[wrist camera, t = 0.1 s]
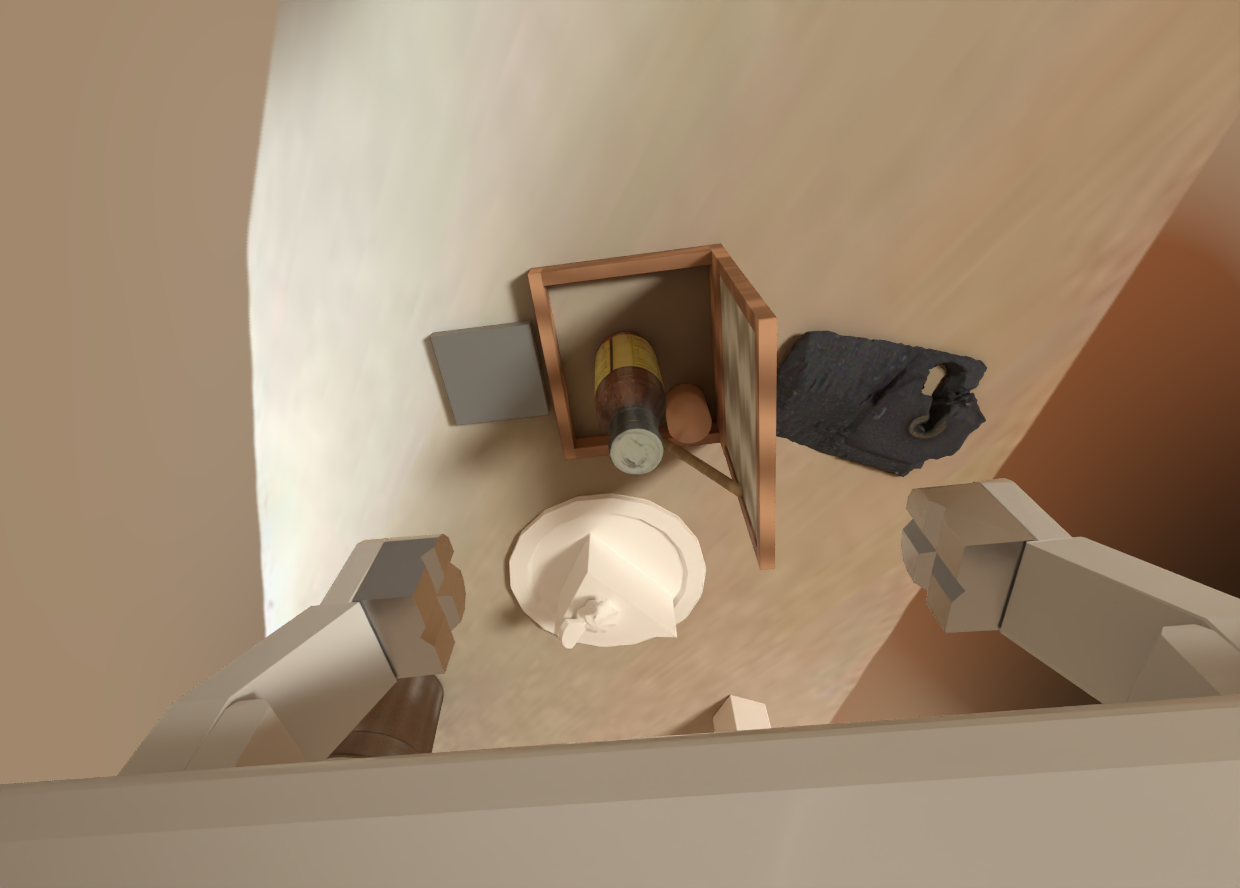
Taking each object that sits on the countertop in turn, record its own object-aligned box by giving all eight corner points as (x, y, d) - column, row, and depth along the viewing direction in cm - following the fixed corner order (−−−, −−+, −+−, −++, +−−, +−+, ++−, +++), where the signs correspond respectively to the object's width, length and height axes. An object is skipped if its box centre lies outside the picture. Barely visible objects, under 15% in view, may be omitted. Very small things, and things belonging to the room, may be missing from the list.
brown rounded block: (662, 386, 61) (665, 407, 57) (704, 381, 61) (710, 402, 57) (666, 422, 64) (669, 445, 59) (706, 418, 63) (712, 440, 59)
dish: (486, 608, 78) (468, 680, 68) (551, 463, 66) (539, 524, 57) (652, 658, 83) (657, 731, 73) (739, 530, 71) (758, 597, 62)
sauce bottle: (613, 394, 62) (611, 504, 45) (584, 344, 59) (570, 442, 42) (668, 368, 60) (689, 471, 43) (642, 315, 57) (652, 404, 40)
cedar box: (530, 268, 55) (484, 353, 36) (720, 243, 54) (777, 318, 35) (566, 448, 65) (545, 590, 46) (728, 430, 64) (775, 568, 45)
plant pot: (323, 662, 83) (263, 775, 69) (425, 637, 80) (384, 749, 66) (381, 729, 90) (337, 843, 76) (475, 708, 88) (448, 822, 74)
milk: (746, 725, 90) (781, 892, 71) (711, 717, 89) (737, 883, 70) (765, 702, 87) (807, 869, 68) (729, 693, 86) (761, 860, 67)
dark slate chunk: (806, 298, 57) (821, 313, 53) (995, 363, 61) (1023, 382, 57) (742, 428, 64) (751, 450, 60) (914, 479, 68) (933, 503, 64)
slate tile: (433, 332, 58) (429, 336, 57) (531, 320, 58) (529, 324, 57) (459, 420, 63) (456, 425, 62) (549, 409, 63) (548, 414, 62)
